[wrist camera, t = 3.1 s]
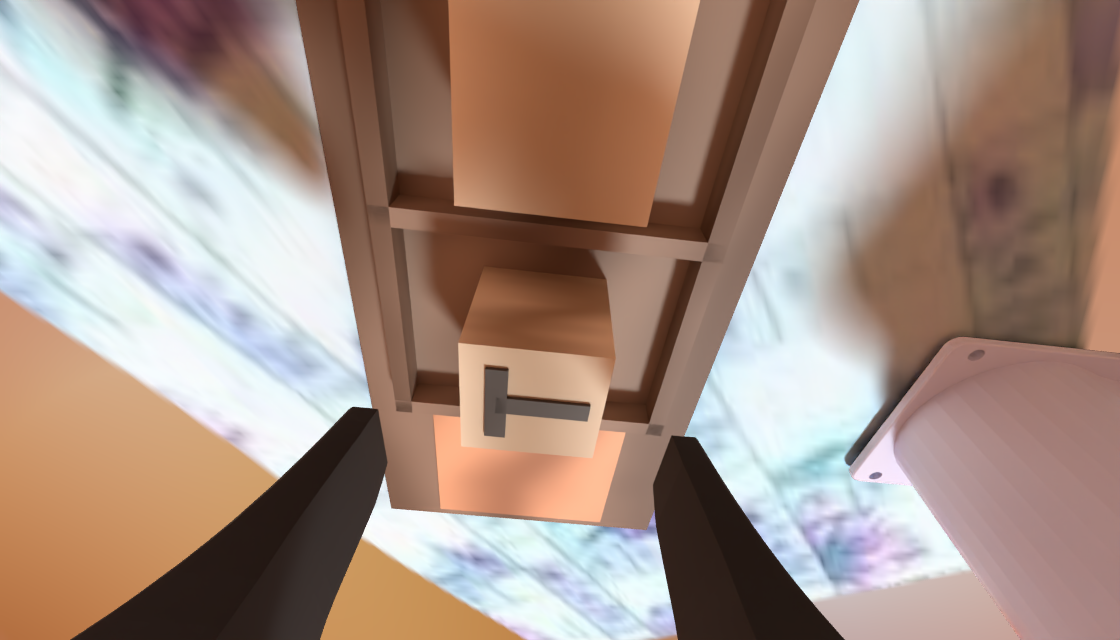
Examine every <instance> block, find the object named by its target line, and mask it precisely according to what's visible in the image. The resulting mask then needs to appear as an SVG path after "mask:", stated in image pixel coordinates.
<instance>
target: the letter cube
mask: <svg viewBox="0 0 1120 640" xmlns="http://www.w3.org/2000/svg"><path fill="white" fill-rule="evenodd" d="M458 354H459V389H460V423H461V446H462V447H473V448H484V449H495V450H506V451H517V452H528V453H539V454H550V455H561V456H572V457H583V458H593V454H594V450H595V445H596V441H597V437H598V433H599V428H600V424H601V420H602V416H603V411H604V407H605V403H606V399H607V394H608V390H609V386H610V382H611V377H612V373H613V369H614V365H615V360H616V355H615V347H614V338H613V330H612V321H611V312H610V304H609V295H608V287H607V280H606V279H597V278H588V277H578V276H569V275H560V274H550V273H541V272H532V271H523V270H513V269H504V268H495V267H485V266H484V268H483V271H482V274H481V277H480V280H479V283H478V286H477V289H476V292H475V295H474V298H473V301H472V304H471V307H470V310H469V313H468V316H467V318H466V321H465V324H464V327H463V330H462V333H461V336H460V339H459V342H458Z"/></svg>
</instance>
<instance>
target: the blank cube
mask: <svg viewBox="0 0 1120 640" xmlns="http://www.w3.org/2000/svg"><path fill="white" fill-rule="evenodd" d="M699 4H700V0H448V6H449V40H450V75H451V110H452V145H453V180H454V206H462V207H471V208H480V209H488V210H497V211H506V212H515V213H524V214H533V215H542V216H551V217H559V218H568V219H577V220H586V221H595V222H604V223H613V224H622V225H630V226H639V227H647V225H648V220H649V216H650V212H651V208H652V203H653V199H654V195H655V191H656V186H657V182H658V178H659V174H660V169H661V165H662V161H663V157H664V152H665V148H666V144H667V140H668V135H669V131H670V127H671V123H672V118H673V114H674V110H675V106H676V101H677V97H678V93H679V89H680V84H681V80H682V76H683V72H684V67H685V63H686V59H687V55H688V50H689V46H690V42H691V38H692V33H693V29H694V25H695V21H696V16H697V12H698V8H699Z"/></svg>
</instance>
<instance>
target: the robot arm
mask: <svg viewBox="0 0 1120 640" xmlns="http://www.w3.org/2000/svg"><path fill="white" fill-rule="evenodd" d="M387 463H388V461H387V456H386V450H385V445H384V439H383V434H382V428H381V422H380V417H379V411H378V409H372V408H361V407H352V408H350V409H349V410H348V411H347V412H346V413H345V414H344V415H343V416H342V417H341V418H340V419H339V420H338V421H337V422H336V423H335V424H334V425H333V426H332V427H331V428H330V429H329V430H328V431H327V433H326V434H325V435H324V436H323V437H322V438H321V439H320V440H319V441H318V442H317V443H316V444H315V445H314V446H313V447H312V448H311V449H310V450H309V451H308V452H307V453H306V454H305V455H304V456H303V457H302V458H301V459H300V460H298V461H297V462H296V463H295V464H294V465H293V466H292V467H291V468H290V469H289V470H288V471H287V472H286V473H285V474H284V475H283V476H282V477H281V478H280V479H279V480H278V481H277V482H275V483H274V484H273V485H272V486H271V487H270V488H269V489H268V490H267V491H266V492H264V493H263V494H262V495H261V496H260V497H259V498H258V499H257V500H255V501H254V502H253V503H252V504H251V505H250V506H249V507H248V508H246V509H245V510H244V511H243V512H242V513H241V514H240V515H239V516H238V517H236V518H235V519H234V520H233V521H232V522H230V523H229V524H228V525H227V526H226V527H224V528H223V529H222V530H221V531H220V532H218V533H217V534H216V535H215V536H214V537H212V538H211V539H210V540H209V541H207V542H206V543H205V544H204V545H203V546H201V547H200V548H198V550H196V551H195V552H193V553H192V554H191V555H190V556H188V557H187V558H186V559H184V560H183V561H182V562H181V563H179V564H178V565H177V566H175V567H174V568H173V569H171V570H170V571H168V572H167V573H166V574H164V575H163V576H162V577H160V578H159V579H158V580H156V581H155V582H154V583H152V584H151V585H149V586H148V587H147V588H145V589H144V590H143V591H141V592H140V593H139V594H137V595H136V596H134V597H133V598H132V599H130V600H129V601H127V602H126V603H124V604H123V605H122V606H120V607H119V608H117V609H116V610H114V611H113V612H111V613H110V614H109V615H107V616H106V617H104V618H102V619H101V620H99V621H98V622H96V623H95V624H93V625H92V626H90V627H89V628H87V629H86V630H85V631H83V632H81V633H80V634H78V635H77V636H75V637H74V638H72V639H71V640H320V638H321V634H322V632H323V629H324V625H325V623H326V619H327V617H328V614H329V612H330V609H331V607H332V604H333V602H334V599H335V597H336V594H337V592H338V590H339V587H340V585H341V583H342V581H343V578H344V576H345V574H346V571H347V569H348V567H349V564H350V562H351V560H352V557H353V555H354V553H355V550H356V548H357V546H358V543H359V541H360V539H361V537H362V534H363V532H364V530H365V527H366V525H367V522H368V520H369V518H370V515H371V513H372V511H373V508H374V506H375V503H376V500H377V497H378V494H379V491H380V487H381V484H382V481H383V477H384V474H385V470H386V467H387ZM849 473H850V474H851V476H852V478H853V479H855V480H858V481H866V482H877V483H888V484H899V485H910V486H913V487H914V488H915V490H916V491H917V492H918V494H919V495H920V497H921V498H922V500H923V501H924V502H925V504H926V505H927V507H928V508H929V510H930V511H931V512H932V514H933V515H934V517H935V518H936V520H937V521H938V522H939V524H940V525H941V527H942V528H943V530H944V531H945V533H946V534H947V535H948V537H949V538H950V540H951V541H952V543H953V544H954V545H955V547H956V548H957V550H958V551H959V553H960V554H961V555H962V557H963V558H964V560H965V561H966V563H967V564H968V565H969V567H970V568H971V570H972V571H973V573H974V574H975V575H976V577H977V578H978V580H979V581H980V583H981V584H982V585H983V587H984V588H985V590H986V591H987V593H988V594H989V595H990V597H991V598H992V600H993V601H994V603H995V604H996V605H997V607H998V608H999V610H1000V611H1001V612H1002V614H1003V616H1004V617H1005V618H1006V620H1007V621H1008V623H1009V624H1010V626H1011V627H1012V628H1013V630H1014V631H1015V633H1016V634H1017V636H1018V637H1019V638H1020V640H1120V353H1112V352H1102V351H1094V350H1084V349H1075V348H1065V347H1056V346H1047V345H1037V344H1028V343H1018V342H1009V341H999V340H990V339H980V338H971V337H957V338H954V339H951V340H950V341H948V342H946V343H945V344H944V345H943V346H942V348H941V349H940V350H939V352H938V353H937V354H936V356H935V357H934V358H933V360H932V361H931V362H930V363H929V365H928V366H927V367H926V369H925V370H924V371H923V373H922V374H921V375H920V376H919V378H918V379H917V380H916V382H915V383H914V384H913V386H912V387H911V388H910V389H909V391H908V392H907V393H906V395H905V396H904V397H903V399H902V400H901V401H900V402H899V404H898V405H897V406H896V408H895V409H894V410H893V412H892V413H891V414H890V416H889V417H888V418H887V419H886V421H885V422H884V423H883V425H882V426H881V427H880V429H879V430H878V431H877V432H876V434H875V435H874V436H873V438H872V439H871V440H870V442H869V443H868V444H867V445H866V447H865V448H864V449H863V451H862V452H861V453H860V455H859V456H858V457H857V458H856V460H855V461H854V462H853V464H852V465H851V466H850V468H849ZM653 495H654V509H655V519H656V528H657V533H658V539H659V544H660V549H661V554H662V559H663V564H664V569H665V574H666V579H667V584H668V589H669V594H670V599H671V604H672V609H673V614H674V619H675V625H676V631H677V637H678V640H845V639H844V638H843V637H842V636H841V635H840V634H839V633H838V632H837V631H836V629H835V628H834V627H833V626H832V625H831V624H830V623H829V621H828V620H827V619H826V618H825V617H824V616H823V615H822V614H821V612H820V611H819V610H818V609H817V608H816V607H815V605H814V604H813V603H812V602H811V601H810V599H809V598H808V597H807V596H806V595H805V593H804V592H803V591H802V590H801V589H800V587H799V586H798V585H797V584H796V582H795V581H794V580H793V579H792V577H791V576H790V575H789V574H788V572H787V571H786V570H785V568H784V567H783V566H782V565H781V563H780V562H779V561H778V559H777V558H776V557H775V555H774V554H773V553H772V551H771V550H770V549H769V547H768V546H767V545H766V543H765V542H764V540H763V539H762V538H761V536H760V535H759V533H758V532H757V531H756V529H755V528H754V526H753V525H752V524H751V522H750V521H749V519H748V518H747V516H746V515H745V513H744V512H743V510H742V509H741V507H740V506H739V505H738V503H737V502H736V500H735V499H734V497H733V495H732V494H731V492H730V491H729V489H728V488H727V486H726V485H725V483H724V482H723V480H722V478H721V477H720V475H719V474H718V472H717V470H716V469H715V467H714V466H713V464H712V462H711V461H710V459H709V458H708V456H707V454H706V453H705V451H704V449H703V448H702V446H701V444H700V443H699V441H698V440H697V439H696V437H684V436H673V435H671V438H670V441H669V443H668V446H667V448H666V451H665V454H664V456H663V459H662V462H661V464H660V467H659V470H658V472H657V475H656V478H655V480H654V483H653Z"/></svg>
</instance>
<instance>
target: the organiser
mask: <svg viewBox="0 0 1120 640" xmlns="http://www.w3.org/2000/svg"><path fill="white" fill-rule="evenodd" d="M858 2H859V0H700V4H699V8H698V12H697V16H696V21H695V25H694V29H693V33H692V38H691V42H690V46H689V50H688V55H687V59H686V63H685V67H684V72H683V76H682V80H681V84H680V89H679V93H678V97H677V101H676V106H675V110H674V114H673V118H672V123H671V127H670V131H669V135H668V140H667V144H666V148H665V152H664V157H663V161H662V165H661V169H660V174H659V178H658V182H657V186H656V191H655V195H654V199H653V203H652V208H651V212H650V216H649V220H648V225H647V227H639V226H630V225H622V224H613V223H604V222H595V221H586V220H577V219H568V218H559V217H551V216H542V215H533V214H524V213H515V212H506V211H497V210H488V209H480V208H471V207H462V206H454V180H453V145H452V110H451V75H450V40H449V6H448V0H296V5H297V10H298V15H299V21H300V26H301V31H302V37H303V42H304V47H305V52H306V58H307V63H308V68H309V74H310V79H311V84H312V90H313V95H314V100H315V105H316V111H317V116H318V121H319V127H320V132H321V137H322V142H323V148H324V153H325V158H326V164H327V169H328V174H329V180H330V185H331V190H332V195H333V201H334V206H335V211H336V217H337V222H338V227H339V233H340V238H341V243H342V248H343V254H344V259H345V264H346V270H347V275H348V280H349V286H350V291H351V296H352V301H353V307H354V312H355V317H356V323H357V328H358V333H359V338H360V344H361V349H362V354H363V360H364V365H365V370H366V376H367V381H368V386H369V391H370V397H371V402H372V407H373V409H378V411H379V417H380V422H381V428H382V434H383V439H384V445H385V450H386V456H387V461H388V463H387V467H386V470H385V476H386V481H387V487H388V492H389V497H390V503H391V508H394V509H405V510H417V511H429V512H441V513H453V514H465V515H476V516H488V517H500V518H512V519H524V520H535V521H547V522H559V523H571V524H583V525H594V526H606V527H618V528H630V529H642V530H647V527H648V525H649V522H650V520H651V517H652V515H653V512H654V510H655V509H654V495H653V483H654V480H655V478H656V475H657V472H658V470H659V467H660V464H661V462H662V459H663V456H664V454H665V451H666V448H667V446H668V443H669V441H670V438H671V435H673V436H684V435H685V433H686V430H687V428H688V425H689V423H690V420H691V418H692V415H693V413H694V410H695V408H696V405H697V403H698V400H699V398H700V395H701V393H702V390H703V388H704V385H705V383H706V380H707V378H708V375H709V373H710V370H711V368H712V365H713V363H714V360H715V358H716V356H717V353H718V351H719V348H720V346H721V343H722V341H723V338H724V336H725V333H726V331H727V328H728V326H729V323H730V321H731V318H732V316H733V313H734V311H735V308H736V306H737V303H738V301H739V298H740V296H741V293H742V291H743V288H744V286H745V283H746V281H747V278H748V276H749V273H750V271H751V268H752V266H753V264H754V261H755V259H756V256H757V254H758V251H759V249H760V246H761V244H762V241H763V239H764V236H765V234H766V231H767V229H768V226H769V224H770V221H771V219H772V216H773V214H774V211H775V209H776V206H777V204H778V201H779V199H780V196H781V194H782V191H783V189H784V186H785V184H786V181H787V179H788V176H789V174H790V171H791V169H792V167H793V164H794V162H795V159H796V157H797V154H798V152H799V149H800V147H801V144H802V142H803V139H804V137H805V134H806V132H807V129H808V127H809V124H810V122H811V119H812V117H813V114H814V112H815V109H816V107H817V104H818V102H819V99H820V97H821V94H822V92H823V89H824V87H825V84H826V82H827V79H828V77H829V75H830V72H831V70H832V67H833V65H834V62H835V60H836V57H837V55H838V52H839V50H840V47H841V45H842V42H843V40H844V37H845V35H846V32H847V30H848V27H849V25H850V22H851V20H852V17H853V15H854V12H855V10H856V7H857V5H858ZM484 266H485V267H495V268H504V269H513V270H523V271H532V272H541V273H550V274H560V275H569V276H578V277H588V278H597V279H606V280H607V287H608V295H609V304H610V312H611V321H612V330H613V338H614V347H615V355H616V360H615V365H614V369H613V373H612V377H611V382H610V386H609V390H608V394H607V399H606V403H605V407H604V411H603V416H602V420H601V424H600V428H599V433H598V437H597V441H596V445H595V450H594V454H593V458H583V457H572V456H561V455H550V454H539V453H528V452H517V451H506V450H495V449H484V448H473V447H462V446H461V423H460V389H459V354H458V342H459V339H460V336H461V333H462V330H463V327H464V324H465V321H466V318H467V316H468V313H469V310H470V307H471V304H472V301H473V298H474V295H475V292H476V289H477V286H478V283H479V280H480V277H481V274H482V271H483V268H484Z"/></svg>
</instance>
